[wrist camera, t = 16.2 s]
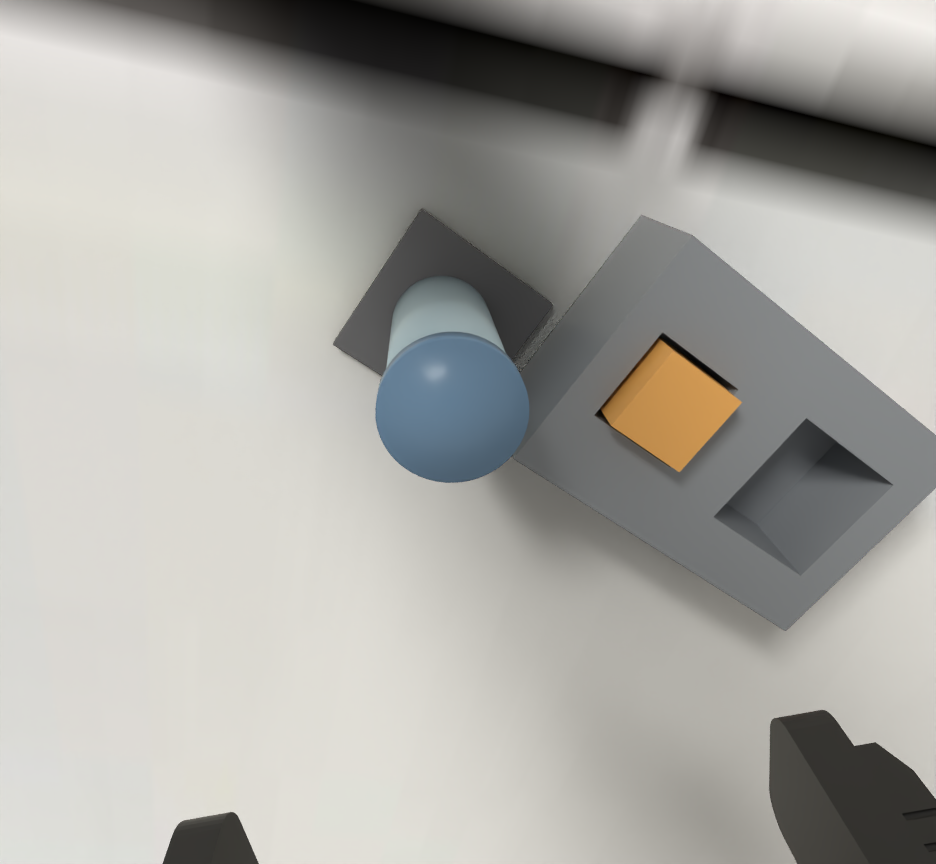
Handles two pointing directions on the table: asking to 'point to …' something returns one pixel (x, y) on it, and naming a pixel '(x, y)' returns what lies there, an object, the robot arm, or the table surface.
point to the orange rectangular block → (669, 405)
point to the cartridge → (449, 385)
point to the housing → (725, 429)
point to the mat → (439, 255)
